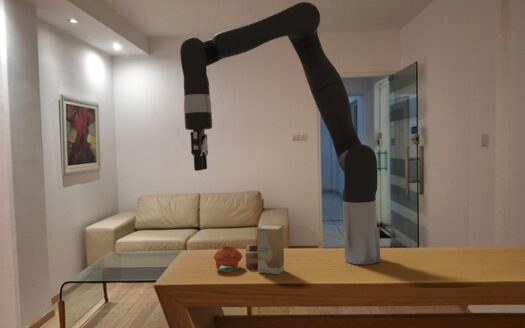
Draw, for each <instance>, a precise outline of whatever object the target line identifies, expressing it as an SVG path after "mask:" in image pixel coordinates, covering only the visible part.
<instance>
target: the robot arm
mask: <svg viewBox="0 0 525 328" xmlns="http://www.w3.org/2000/svg"><path fill="white" fill-rule="evenodd" d="M320 13H321V12H320V11H319V9H318V7H317V6H316V5H314V4H313V3H311V2H307V1H302V2H298V3H296V4H294V5H291V6H289V7H287V8H285V9H283V10H281V11H279V12H277V13H275V14H272V15H270V16H268V17H267V16H266V17H264V18H262V19H260V20H257V21H254V22H251V23H247V24H245V25H242V26H241V25H240V26H238V27H233V28H231V29H227V30H224V31H220V32H218V33H216V34H214V36H213V37H211V39H207V40H205V41H202V40H201V39H199V38H198V37H193V36H192V37H188V38H186V39H185V40H184V41H183V42H182V44H181V45H180V54H179V56H180V64H181V68H182V69H181V70H182V75H183V90H184V91H183V95H184V99H183V100H184V101H183V111H184V128H185V130H188V131H190V146H191V147H190V149H191V151H190V153H191V156H192V157H193V167H194V171H195V172H196V171H198V172H199V171H203V170H207V169H208V160H207V158H208V155H209V151H208V149H209V148H208V147H209V144H208V134H206V132H205V130H211V129H212V128H213V117H212V114H213V113H212V101H211V97H210V81H209V77H208V73H207V67H208V66H210V65H213V64H215V63H217V62H219V61H221V60H223V59H226V58H230V57H235V56H238V55H240V54H245V53H247V52H249V51H252V50H255V49H256V48H258V47H260V46H262V45H263V44H266V43H269V42H271V41H273V40H276V39H279V38H283V37H288V39H289V41H290V43H291V45H292V47H293V49H294V50H295V53H296V54H297V56H298V59H299V61H300V62H301V65H302V70H303V73H304V76H305V78H306V81H307V84H308V87H309V89H310V92H311V94H312V95H311V96H312V97H313V100H314V103H315V105H316V107H317V109H318V111H319V114H320V116H321V118H322V120H323V122H324V125H325V127H326V129H327V130H328V133H329V135H330V138H331V141H332V144H333V148H334V151H335V155H336V159H337V162H338V166H339V167H340V169H341V170H342V172H344V175H343V178H344V183H343V184H344V186H343V190H342V193H341V197H342V199H341V200H342V214H343V215H342V218H343V220H342V221H343V243H344V246H343V247H344V260H345V262H347V263H348V264H354V265H373V264H376V263H381V261H382V260H381V242H380V241H381V238H380V236H381V235H380V228H379V227H377V225H378V224H377V223H378V222H377V220H378V219H377V201H376V199H377V198H376V197H377V195H376V194H377V193H378V192H377V191H378V159H377V155H376V153H375V152H374V149H373V148H371V147H370V146H368V145H366V144H362V142H361V140H360V138H359V136H358V134H357V131H356V129H355V126H354V123H353V117H352V108H351V103H350V98H349V95H348V92H347V90H346V86H345V84H344V81H343V79H342V78H341V75H340V73H339V71H338V70H337V69H336V68H335V67H336V66H334V64H333V63H332V62H331V60H329V58H328V56H327V55H326V54H325V51H324V49H323V47H322V43H321V41H320V38H319V34H318V29H319V26H320V22H321V14H320Z"/></svg>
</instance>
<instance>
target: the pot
mask: <svg viewBox="0 0 525 328" xmlns="http://www.w3.org/2000/svg"><path fill="white" fill-rule="evenodd" d="M242 258H243V255H242V253H241V252H240V251H239V250H238V249H237V248H236V247H235V246H233V245H229V246H227V245H224V246H221V247H220V248H219V249H218V250H217V251H216V252H215V254H214V255H213V259H214V260H215V267H216V269H217V270H218V271H219V269H220V267H221V266H226V267H230V266H233V267H234V270H235V269H237V266H239V262H241V260H242ZM235 271H236V270H235Z"/></svg>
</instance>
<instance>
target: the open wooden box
mask: <svg viewBox="0 0 525 328" xmlns="http://www.w3.org/2000/svg"><path fill="white" fill-rule="evenodd" d="M245 268H246V269H252V268H258V245H257V244H255V243H254V244H246V246H245Z"/></svg>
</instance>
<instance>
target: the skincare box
mask: <svg viewBox="0 0 525 328" xmlns="http://www.w3.org/2000/svg"><path fill="white" fill-rule="evenodd" d="M256 231H257V232H256V234H257V235H256V238H257V239H256V240H257V245H258V267H257V271H258V272H257V273H260V274H271V275H280V274H281V273H283V272H284V271H285V257H284V254H285V253H284V251H285V250H284V249H285V247H284V244H285V243H284V225H269V224H268V225H267V224H266V225H265V224H264V225H263V224H262V225H261V226H258V227H257V228H256Z"/></svg>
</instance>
